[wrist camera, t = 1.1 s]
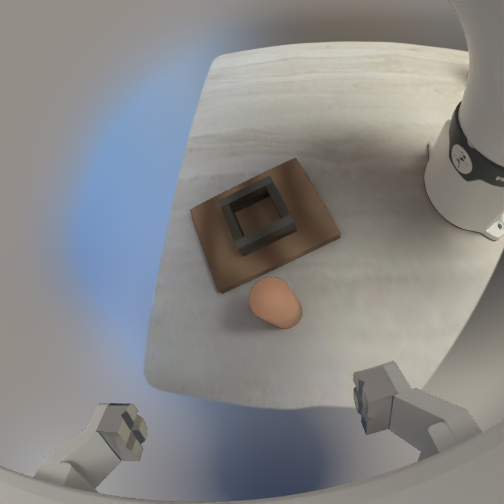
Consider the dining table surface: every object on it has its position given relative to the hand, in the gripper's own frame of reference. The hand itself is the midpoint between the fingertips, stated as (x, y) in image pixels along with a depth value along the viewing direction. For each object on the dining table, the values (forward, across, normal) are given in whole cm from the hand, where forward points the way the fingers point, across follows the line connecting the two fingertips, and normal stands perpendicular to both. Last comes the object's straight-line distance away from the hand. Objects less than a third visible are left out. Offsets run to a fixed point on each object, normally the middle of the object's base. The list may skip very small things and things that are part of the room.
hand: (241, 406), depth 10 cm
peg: (+28, -3, +13) cm, 31 cm away
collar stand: (+37, -2, +3) cm, 37 cm away
